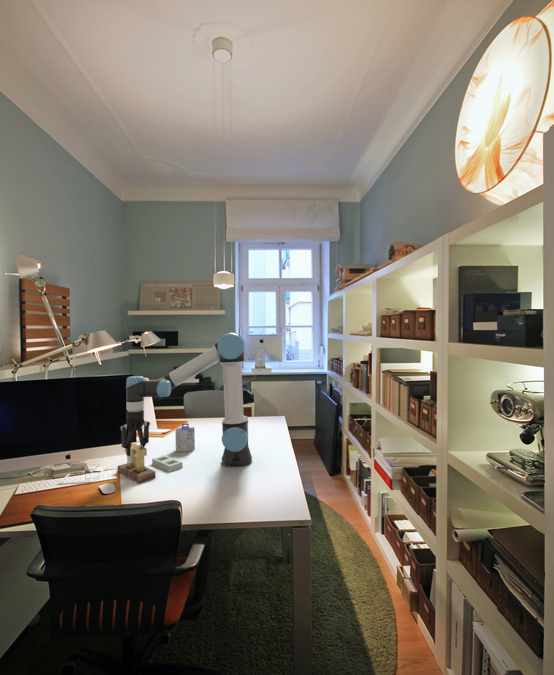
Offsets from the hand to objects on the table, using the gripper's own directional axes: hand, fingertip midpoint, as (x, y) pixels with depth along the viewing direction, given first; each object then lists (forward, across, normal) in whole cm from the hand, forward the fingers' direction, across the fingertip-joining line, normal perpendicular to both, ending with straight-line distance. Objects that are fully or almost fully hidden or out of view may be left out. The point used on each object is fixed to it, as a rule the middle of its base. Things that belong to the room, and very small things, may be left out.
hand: (135, 460), depth 169 cm
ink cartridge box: (+7, -36, -14) cm, 39 cm away
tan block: (+4, 0, 0) cm, 4 cm away
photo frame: (+7, +16, -18) cm, 25 cm away
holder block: (+6, -16, 0) cm, 17 cm away
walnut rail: (+6, 0, 0) cm, 6 cm away
